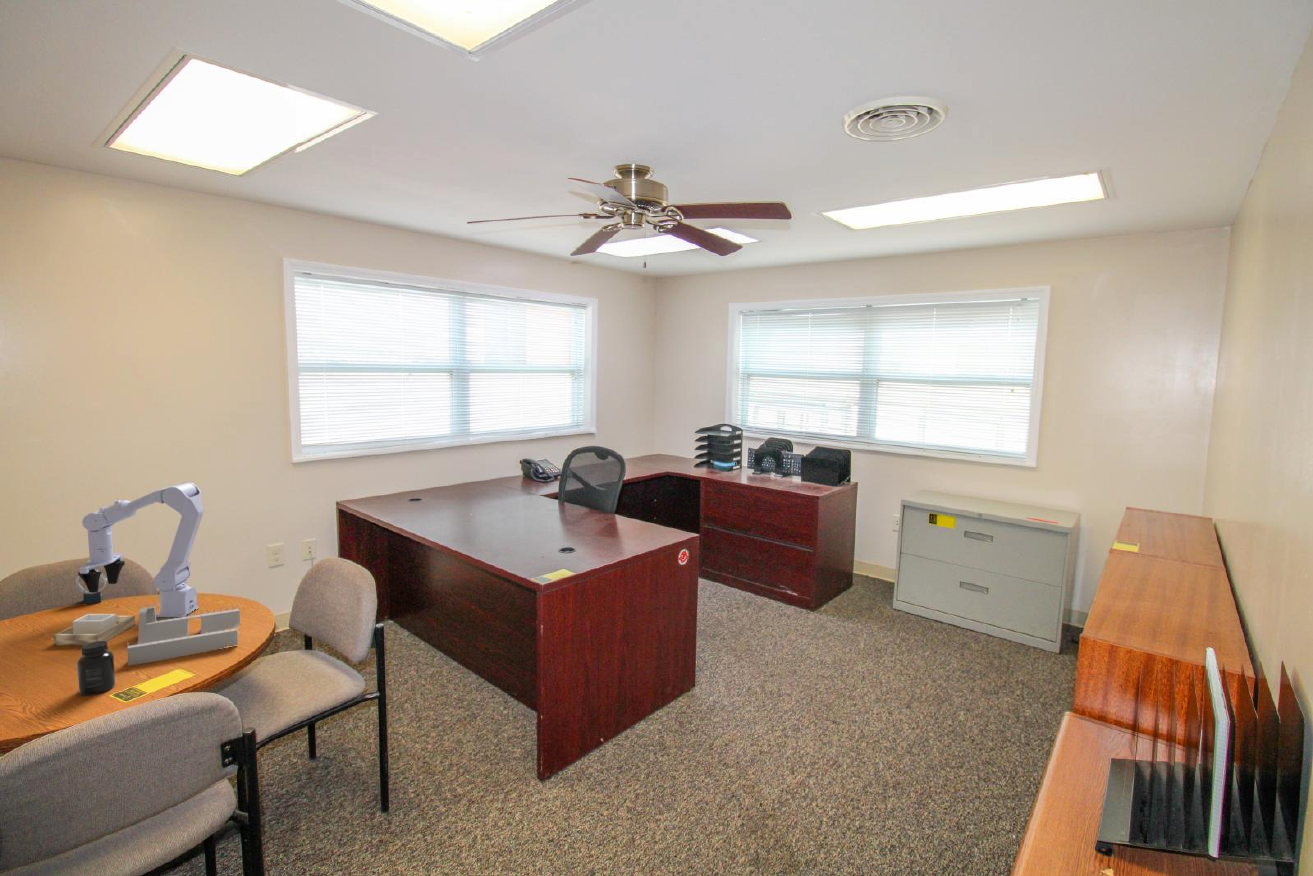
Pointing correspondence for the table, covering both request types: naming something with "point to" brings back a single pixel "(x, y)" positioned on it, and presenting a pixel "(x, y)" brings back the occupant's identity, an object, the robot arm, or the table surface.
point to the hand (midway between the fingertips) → (103, 587)
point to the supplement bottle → (95, 669)
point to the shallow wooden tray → (82, 639)
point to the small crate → (93, 623)
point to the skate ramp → (181, 635)
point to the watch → (92, 596)
